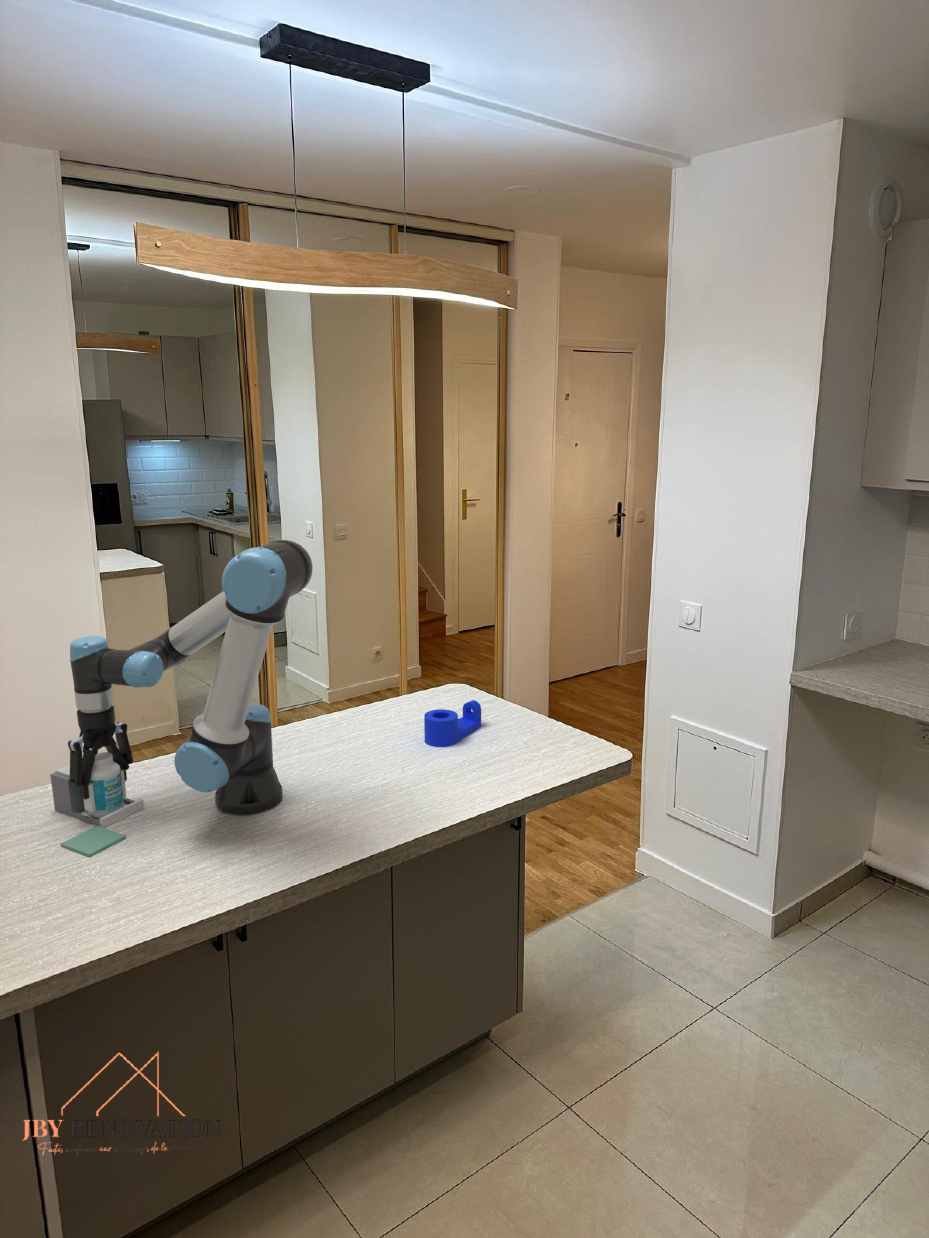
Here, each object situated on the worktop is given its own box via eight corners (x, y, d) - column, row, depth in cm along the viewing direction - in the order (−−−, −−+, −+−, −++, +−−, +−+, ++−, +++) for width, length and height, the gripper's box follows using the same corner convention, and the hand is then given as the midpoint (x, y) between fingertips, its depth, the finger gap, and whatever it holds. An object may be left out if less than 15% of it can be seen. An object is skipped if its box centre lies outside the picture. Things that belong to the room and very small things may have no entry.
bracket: (443, 750, 227) (443, 723, 225) (417, 742, 232) (417, 716, 230) (487, 729, 242) (487, 703, 240) (462, 721, 247) (462, 697, 245)
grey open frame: (144, 807, 194) (140, 768, 192) (103, 828, 185) (98, 787, 182) (96, 792, 202) (92, 754, 199) (55, 810, 192) (49, 771, 190)
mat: (126, 837, 181) (125, 835, 181) (89, 857, 173) (89, 854, 173) (97, 827, 185) (97, 825, 185) (60, 846, 177) (60, 843, 177)
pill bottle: (111, 821, 188) (105, 764, 185) (81, 817, 189) (75, 761, 186) (131, 805, 195) (125, 750, 192) (102, 802, 196) (96, 748, 193)
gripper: (122, 690, 196) (131, 782, 202) (41, 718, 179) (54, 817, 185) (144, 696, 193) (153, 789, 199) (65, 725, 176) (77, 826, 181)
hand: (105, 802), depth 192 cm, fingers closed on pill bottle, 7 cm apart
